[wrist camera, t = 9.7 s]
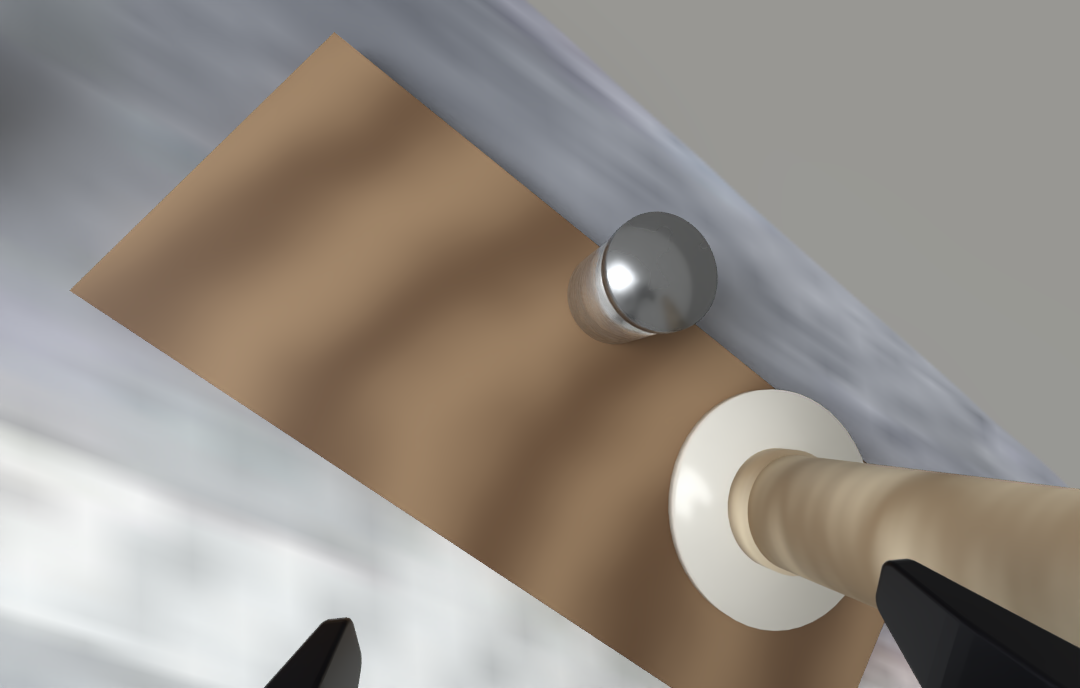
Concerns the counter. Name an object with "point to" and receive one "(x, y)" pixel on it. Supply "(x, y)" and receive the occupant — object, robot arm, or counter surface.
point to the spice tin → (644, 280)
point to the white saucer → (704, 504)
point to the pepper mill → (912, 531)
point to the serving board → (452, 363)
